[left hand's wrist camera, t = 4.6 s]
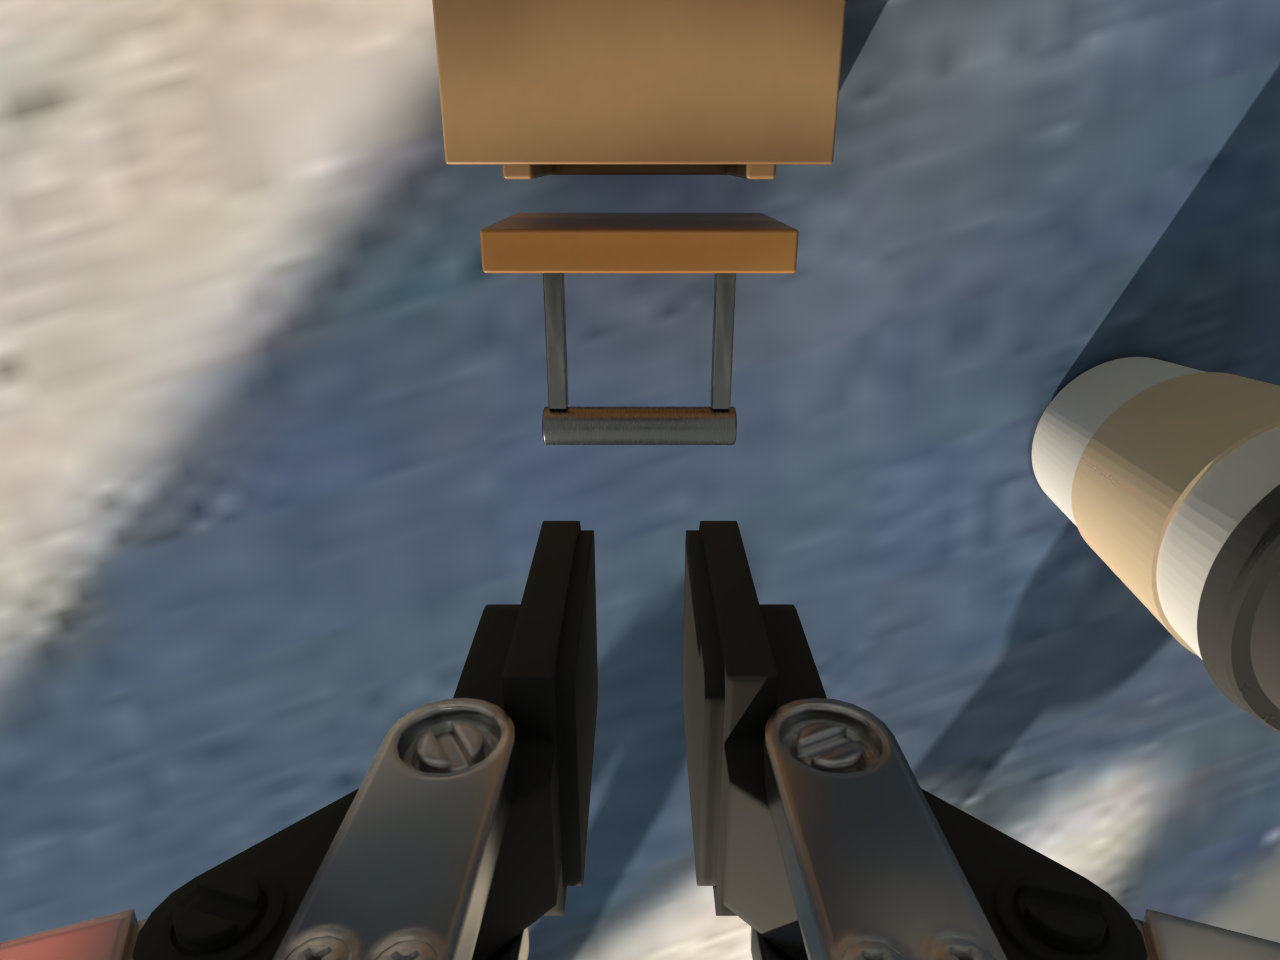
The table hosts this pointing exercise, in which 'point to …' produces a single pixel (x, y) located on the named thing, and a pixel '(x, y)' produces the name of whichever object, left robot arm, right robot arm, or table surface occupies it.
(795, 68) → the cabinet
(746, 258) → the drawer
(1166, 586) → the coffee cup
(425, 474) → the table surface
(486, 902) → the left robot arm
